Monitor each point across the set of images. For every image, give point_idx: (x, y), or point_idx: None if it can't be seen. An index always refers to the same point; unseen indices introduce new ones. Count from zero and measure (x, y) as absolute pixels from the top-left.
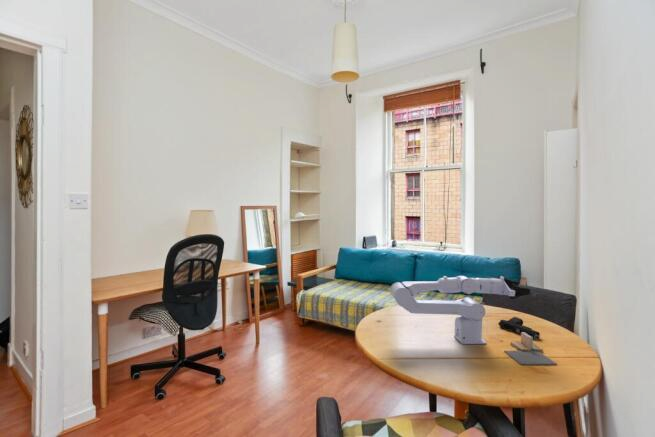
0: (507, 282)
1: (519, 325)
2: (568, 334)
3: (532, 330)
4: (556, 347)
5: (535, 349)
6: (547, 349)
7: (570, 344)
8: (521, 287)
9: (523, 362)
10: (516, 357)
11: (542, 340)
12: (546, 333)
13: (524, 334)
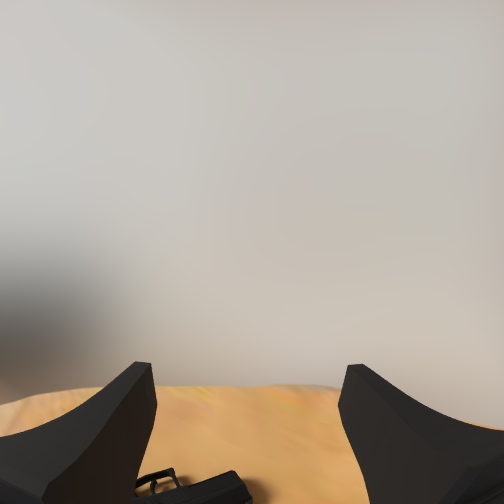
0: (110, 463)
1: (157, 500)
2: (202, 391)
3: (217, 484)
4: (319, 463)
5: None
6: (346, 493)
7: (283, 420)
8: (430, 410)
9: None
10: None
11: (257, 479)
12: (189, 437)
13: None
